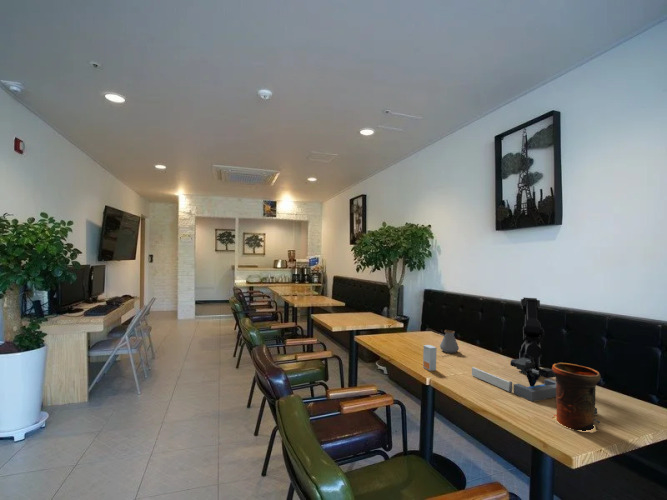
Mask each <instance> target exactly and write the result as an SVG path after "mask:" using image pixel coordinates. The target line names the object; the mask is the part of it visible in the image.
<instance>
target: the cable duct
mask: <svg viewBox="0 0 667 500" xmlns="http://www.w3.org/2000/svg"><path fill="white" fill-rule="evenodd" d="M543 384H544V385H546V386H542V387H536V388H529V386H526V385H523V384H521V383H514V384H513V394H514V395H516V396H519V397H521V398H523V399H525V400H528V401H529V402H532V403H533V402H539V401H542V400H547V399H548V398H549V399H553V398H552V397H554V398H556V385H557V384H556V380H553V379H551V378H543Z"/></svg>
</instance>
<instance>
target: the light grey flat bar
mask: <svg viewBox="0 0 667 500" xmlns="http://www.w3.org/2000/svg"><path fill="white" fill-rule="evenodd" d="M471 376H472V377H475V378H477V379H479V380H482V381H484V382H486V383H489V384H491V385H493V386H494V387H495V386H496V387H498V388H499V389H502V390H504V391H506V392H509V393H513V381H509V380H506V379H503V378H501V377H498V376H497V375H494V374H491V373H488V372H486V371H483V370H482V369H479V368H476V367H475V366H472V367H471Z"/></svg>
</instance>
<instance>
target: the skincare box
mask: <svg viewBox="0 0 667 500" xmlns="http://www.w3.org/2000/svg"><path fill="white" fill-rule="evenodd" d="M422 355H423V357H422V359H423V361H422V362H423V363H422V368H423V369H425V370H428V371H429V372H432V371H437V347H436V346H434V345H431V344H425V345H423V353H422Z"/></svg>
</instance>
